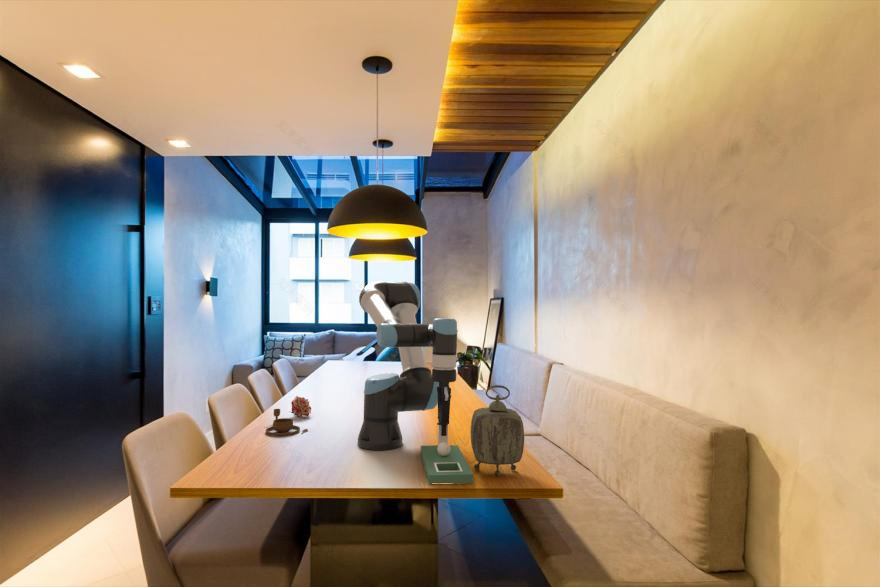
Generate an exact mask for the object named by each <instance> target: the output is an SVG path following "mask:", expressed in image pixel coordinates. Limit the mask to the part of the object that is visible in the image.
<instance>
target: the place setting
mask: <svg viewBox="0 0 880 587" xmlns="http://www.w3.org/2000/svg"><path fill="white" fill-rule="evenodd" d="M280 415H281V409H280V408H274V409H273V416H274V417H275V418H274V420H273V421H272V426H270V427H269V426H266V427H265V426H264V428H266V429H265V433H266V435H267V436H270V437H288V436H294V435H297V434H299V432H301V431H300V429H301V427H300V426H299V425H294V419H292V418H290V417H289V418H288V417H286V418H284V417H281V418H279V417H280ZM291 430H295V431H291ZM308 430H309V429H308V428H304V429H302V433H301V435H303V434H305V433H307V432H308ZM271 431H276V432H271ZM289 431H290V432H289Z"/></svg>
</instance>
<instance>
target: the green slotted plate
mask: <svg viewBox="0 0 880 587" xmlns="http://www.w3.org/2000/svg"><path fill="white" fill-rule="evenodd" d="M449 445H450V448H451V450H450V453H449V454H448V455H447V456H441V455H440V454H439V453H438V451H437V447H438V445H420V457H421V461H422V463H423V464H424V465H423V468H425V469H424V472H426V473H425V477H426V476H427V477H426V479H427V480H428V481H427V484H428V483H429V484H432V483H473V484H474V472H473V471H472V469H471V467H470V466H469V464H468V462H467V460H466V458H465V456H464V455H463V452H462V451H461V449H460V447H459V445H458V444H457V445H456V444H455V445H451V444H449Z"/></svg>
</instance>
